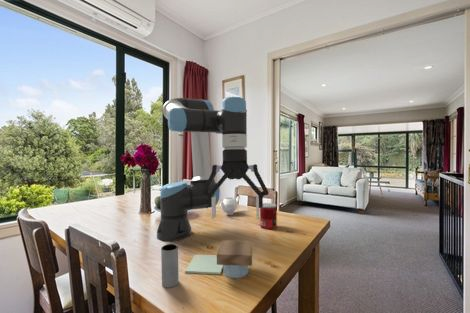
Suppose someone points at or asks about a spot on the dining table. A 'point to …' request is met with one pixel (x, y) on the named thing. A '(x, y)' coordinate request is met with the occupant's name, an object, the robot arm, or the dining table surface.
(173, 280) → the grey cylinder
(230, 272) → the bowl
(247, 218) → the dining table surface
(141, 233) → the dining table surface
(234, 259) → the cover
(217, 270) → the mat
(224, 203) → the teapot
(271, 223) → the canned food
